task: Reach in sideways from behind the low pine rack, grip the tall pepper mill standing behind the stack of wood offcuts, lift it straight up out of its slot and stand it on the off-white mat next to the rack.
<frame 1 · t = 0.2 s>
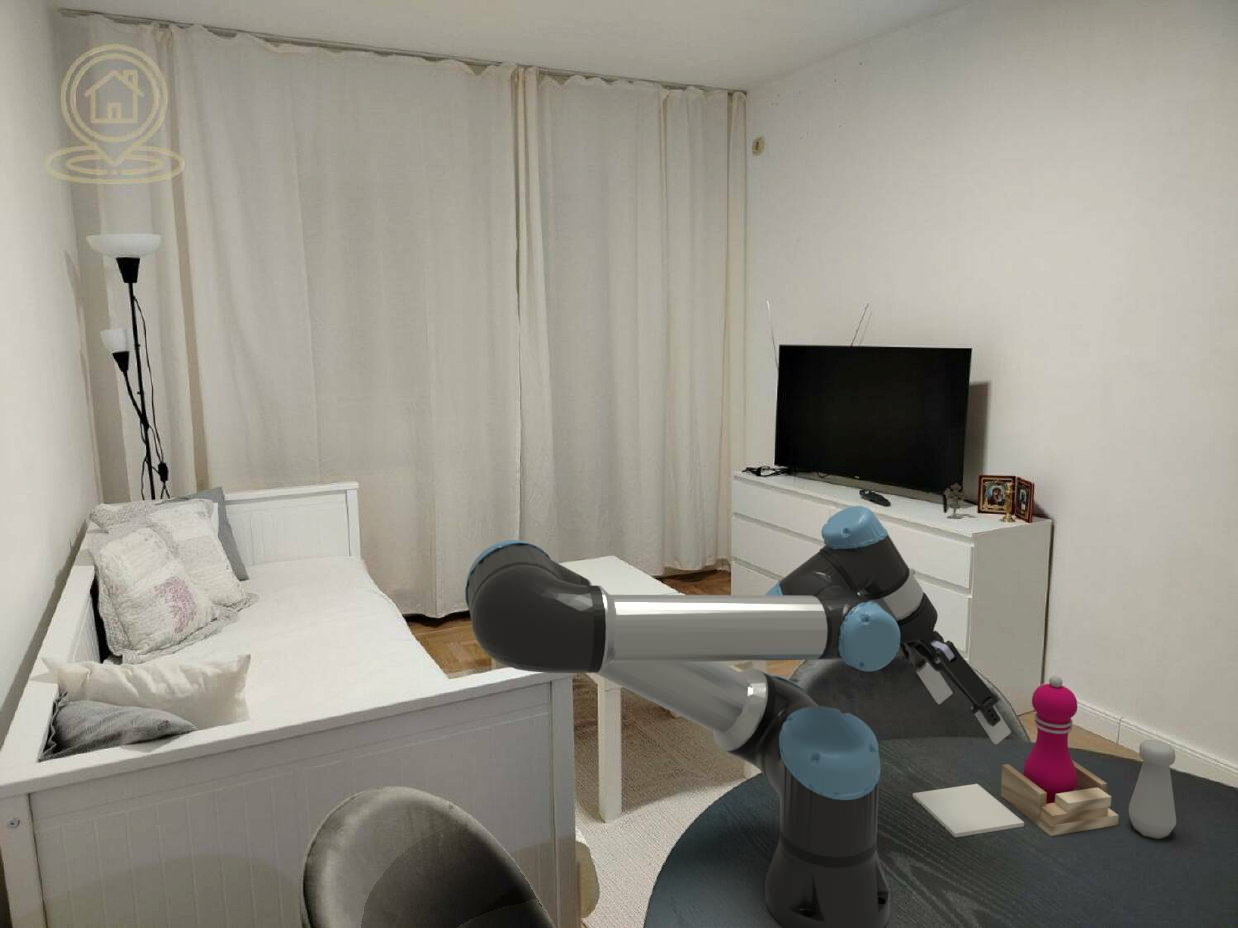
hand: (972, 716, 127), 15 cm above the table, tool tilted 35°, fingers open, 13 cm apart
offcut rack: (1048, 802, 132), on the table
salt shaker: (1150, 831, 124), on the table
mat: (966, 810, 130), on the table
pepper mill: (1048, 803, 132), on the table
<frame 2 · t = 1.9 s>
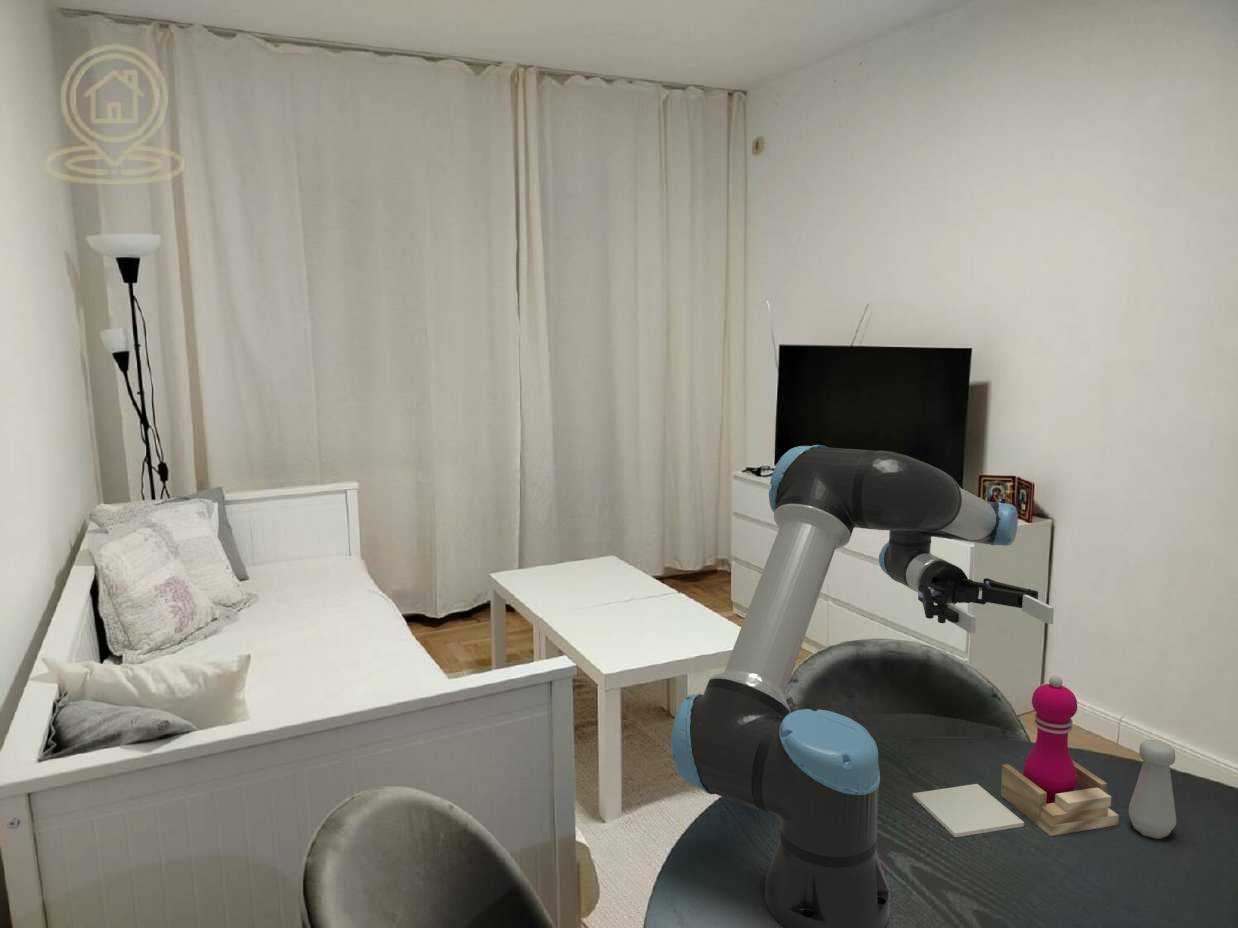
hand: (1013, 620, 137), 25 cm above the table, tool horizontal, fingers open, 13 cm apart
nothing on the table moved.
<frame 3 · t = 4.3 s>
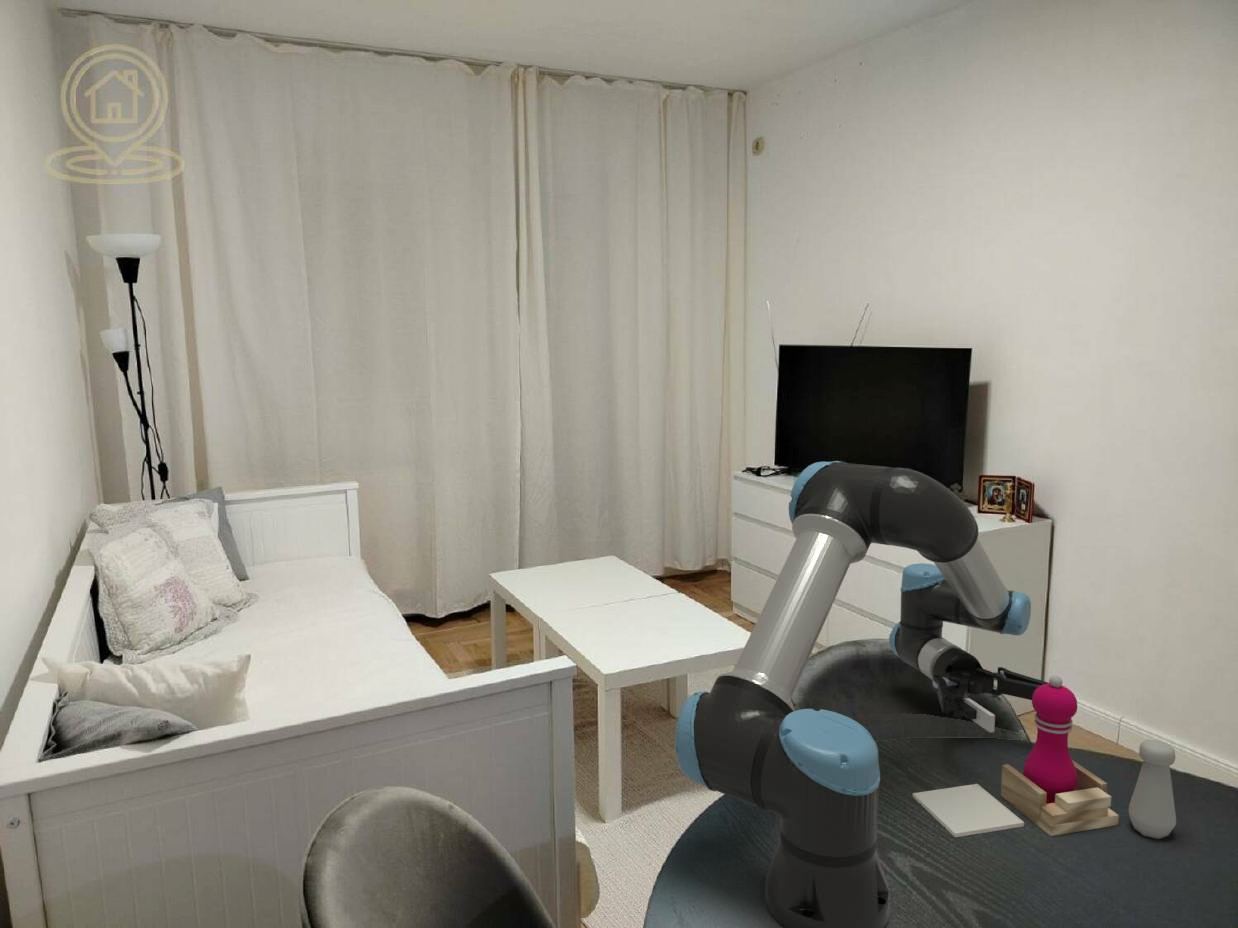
hand: (1031, 718, 135), 11 cm above the table, tool horizontal, fingers open, 13 cm apart
nothing on the table moved.
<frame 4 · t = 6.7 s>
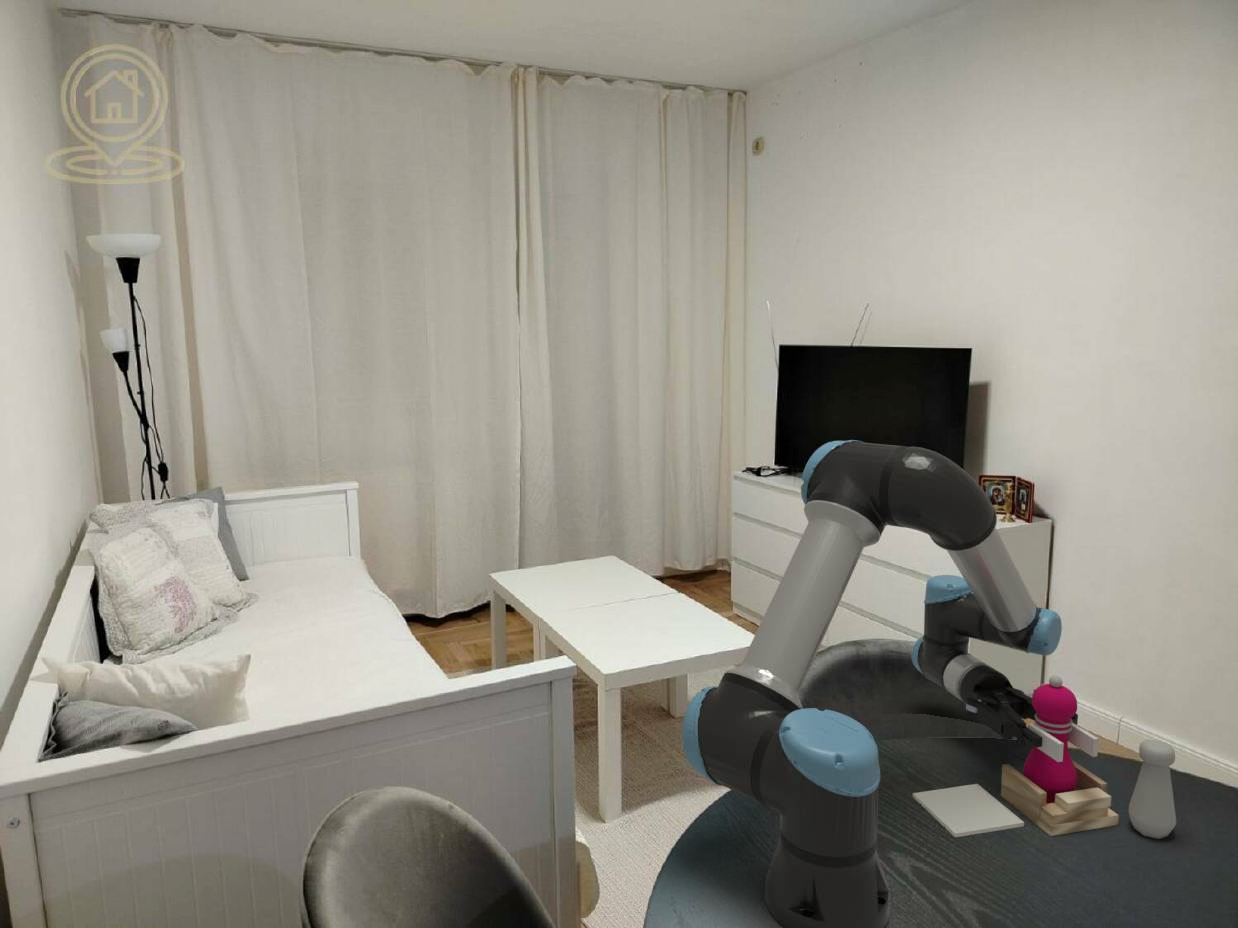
hand: (1078, 749, 125), 11 cm above the table, tool horizontal, fingers closed on pepper mill, 5 cm apart
pepper mill: (1048, 803, 132), on the table, touching gripper
everything else where it was.
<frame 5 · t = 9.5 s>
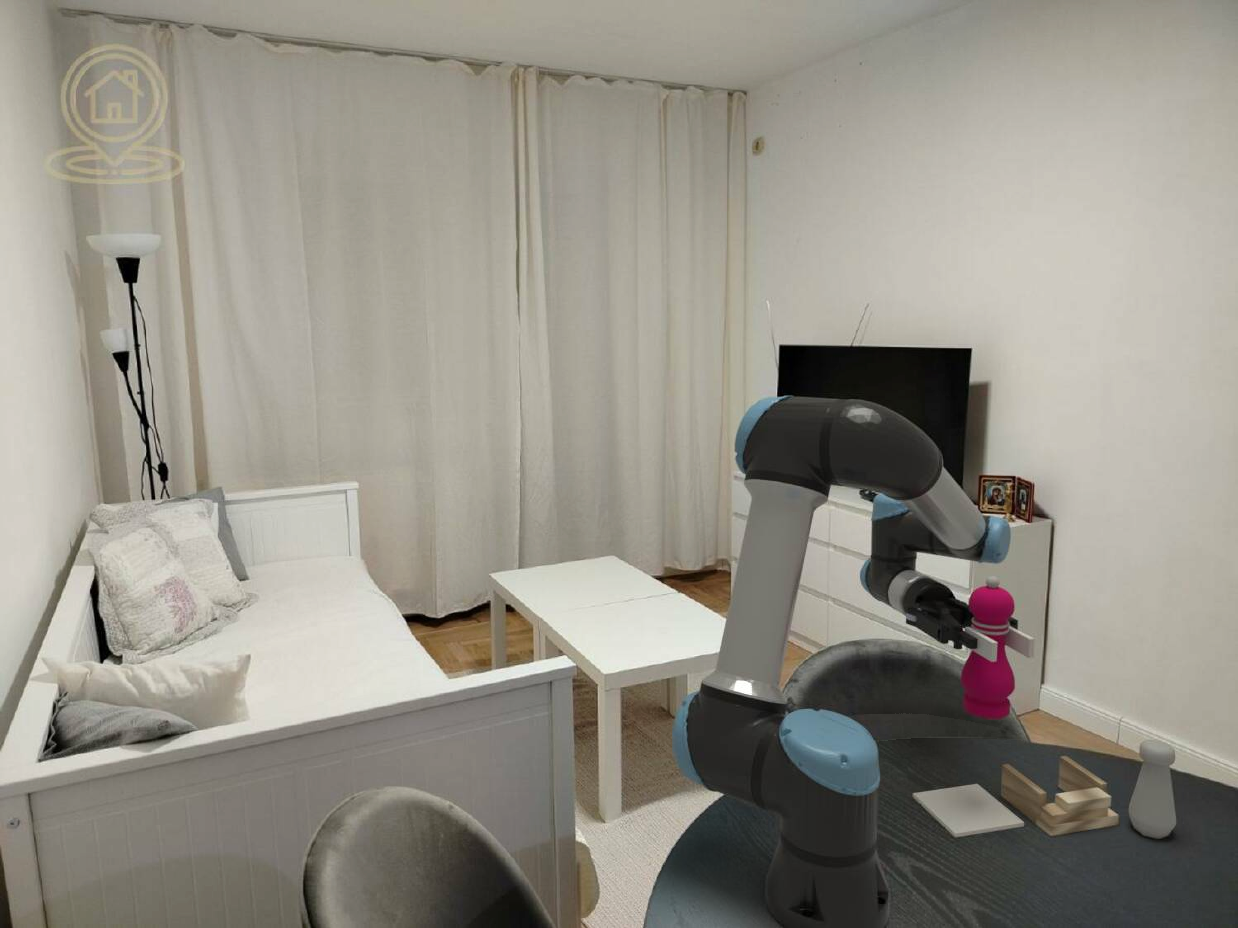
hand: (1013, 650, 121), 27 cm above the table, tool horizontal, fingers closed on pepper mill, 5 cm apart
pepper mill: (986, 711, 128), point 15 cm above the table, touching gripper
everything else where it was.
when the fingers open (13 cm above the table, at t = 12.7 s): pepper mill drops 1 cm, resting on mat.
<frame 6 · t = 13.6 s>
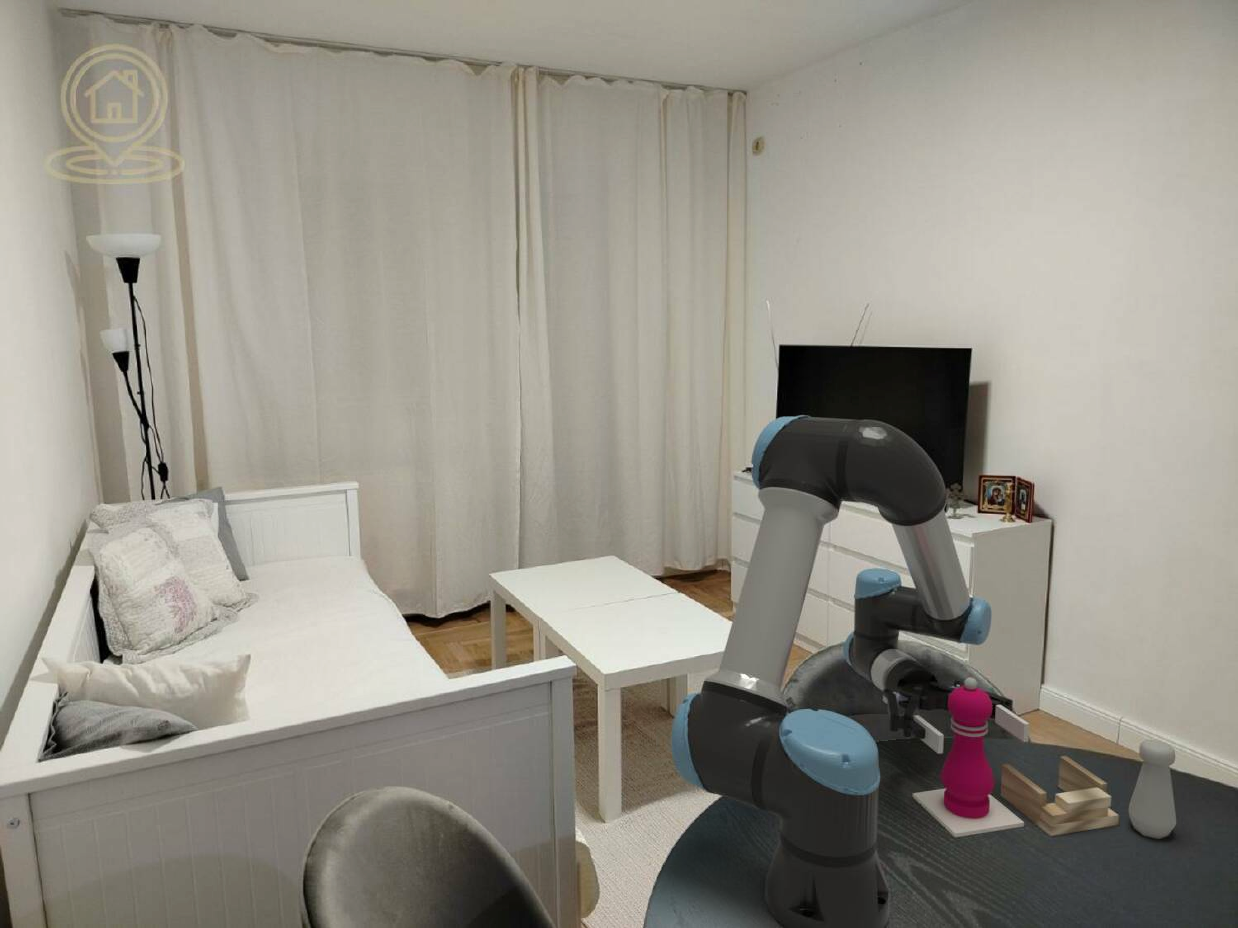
hand: (984, 738, 125), 13 cm above the table, tool horizontal, fingers open, 13 cm apart
pepper mill: (966, 808, 130), resting on mat
everything else where it was.
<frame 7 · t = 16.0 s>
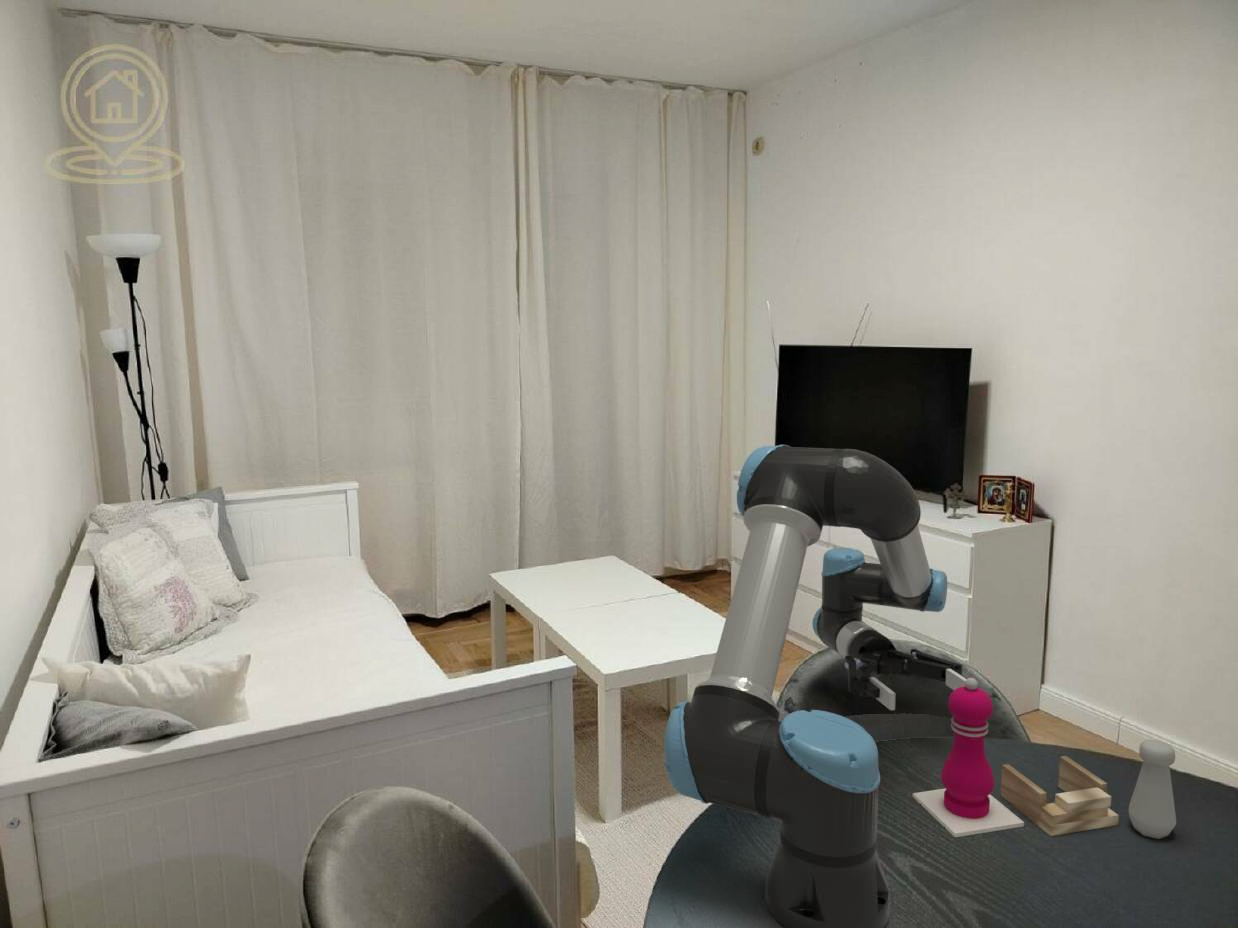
hand: (932, 697, 137), 14 cm above the table, tool horizontal, fingers open, 13 cm apart
nothing on the table moved.
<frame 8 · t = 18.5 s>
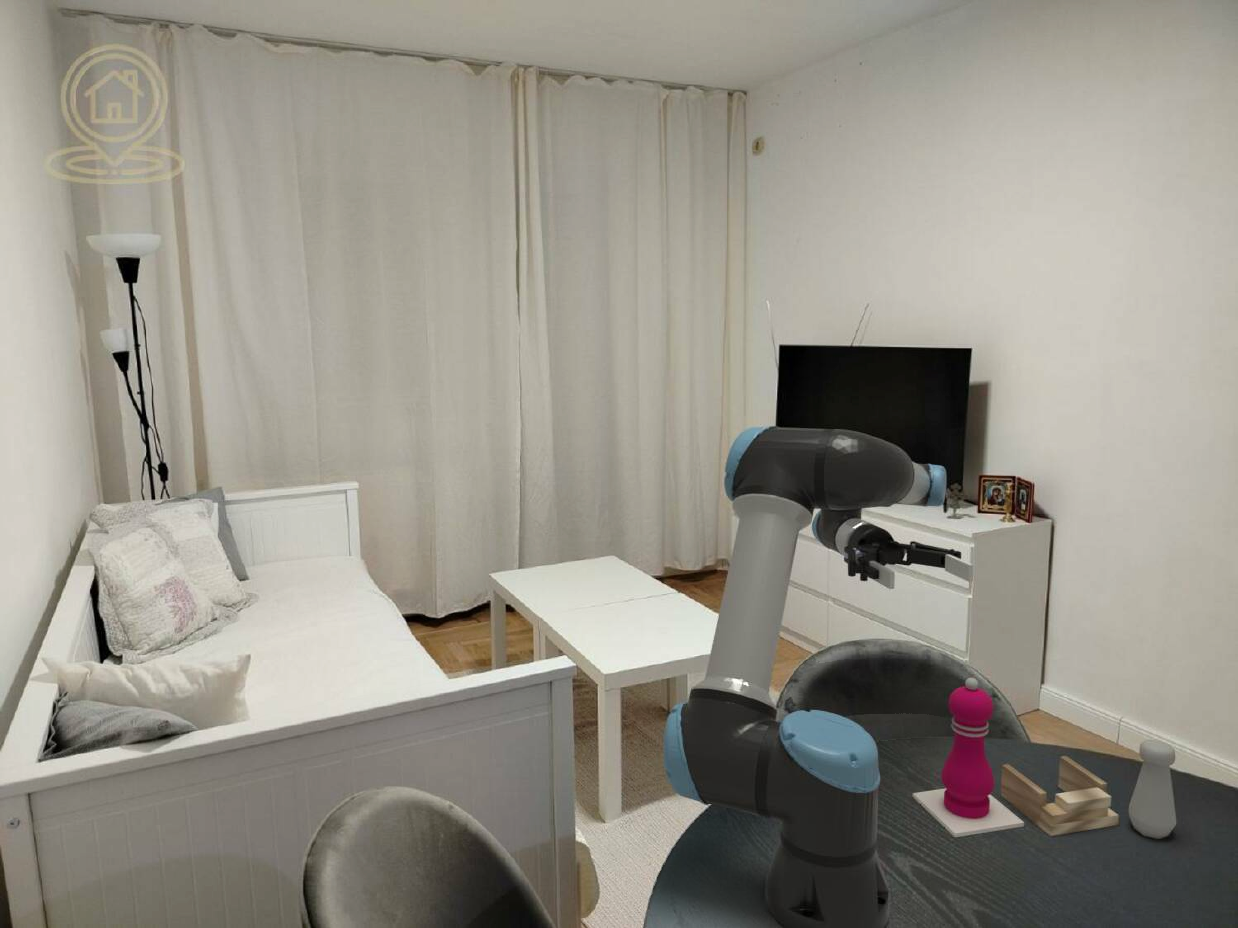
hand: (932, 576, 137), 32 cm above the table, tool horizontal, fingers open, 13 cm apart
nothing on the table moved.
at the end: pepper mill inside the target area (0.1 cm from its centre), resting on mat; pepper mill tilted 0°; the gripper is holding nothing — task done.
